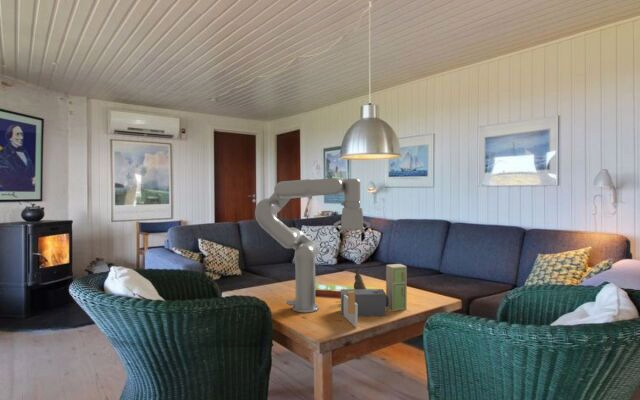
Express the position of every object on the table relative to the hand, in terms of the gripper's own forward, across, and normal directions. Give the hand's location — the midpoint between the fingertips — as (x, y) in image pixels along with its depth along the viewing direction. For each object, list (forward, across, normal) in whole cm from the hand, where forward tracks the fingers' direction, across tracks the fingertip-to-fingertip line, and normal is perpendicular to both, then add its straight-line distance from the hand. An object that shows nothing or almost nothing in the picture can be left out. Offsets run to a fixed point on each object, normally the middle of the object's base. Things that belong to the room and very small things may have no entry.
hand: (352, 241), depth 188 cm
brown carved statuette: (+34, +7, +15) cm, 37 cm away
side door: (+33, -3, -15) cm, 36 cm away
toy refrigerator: (+34, +22, +4) cm, 40 cm away
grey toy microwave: (+33, +5, -2) cm, 34 cm away
